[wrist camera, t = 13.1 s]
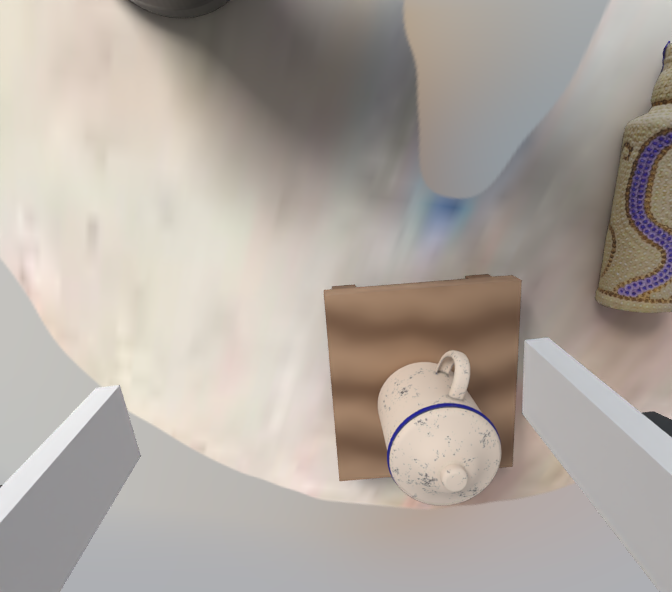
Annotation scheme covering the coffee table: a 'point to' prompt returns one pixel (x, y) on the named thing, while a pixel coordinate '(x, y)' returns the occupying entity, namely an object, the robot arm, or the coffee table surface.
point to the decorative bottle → (642, 211)
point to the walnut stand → (418, 354)
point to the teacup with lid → (437, 432)
